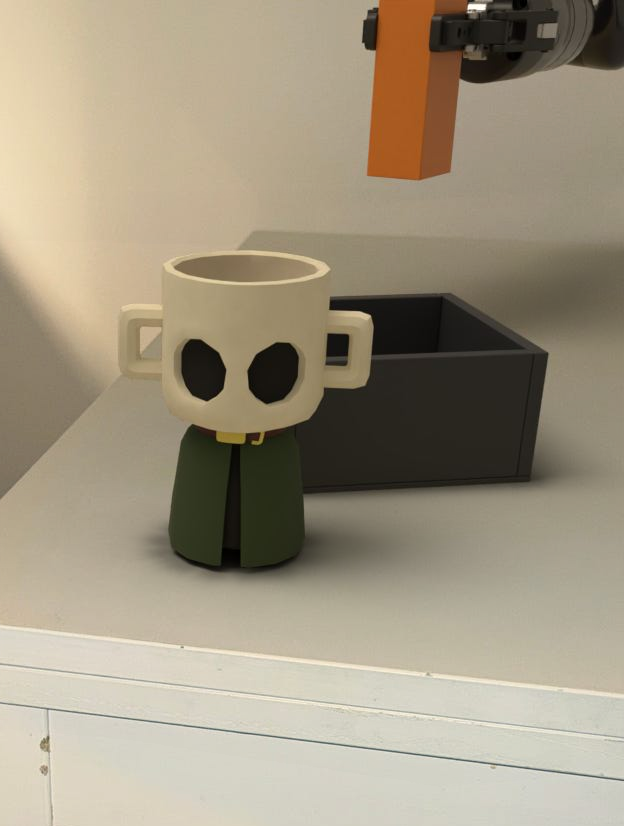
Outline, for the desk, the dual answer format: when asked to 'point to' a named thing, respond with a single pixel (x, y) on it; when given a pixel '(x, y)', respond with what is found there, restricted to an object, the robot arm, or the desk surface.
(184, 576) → the desk surface
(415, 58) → the block
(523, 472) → the bin
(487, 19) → the robot arm
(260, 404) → the character mug
